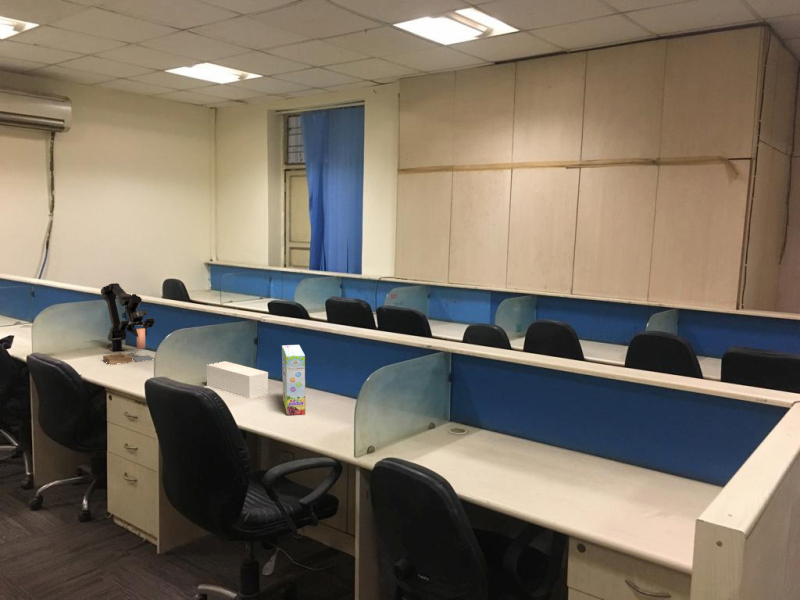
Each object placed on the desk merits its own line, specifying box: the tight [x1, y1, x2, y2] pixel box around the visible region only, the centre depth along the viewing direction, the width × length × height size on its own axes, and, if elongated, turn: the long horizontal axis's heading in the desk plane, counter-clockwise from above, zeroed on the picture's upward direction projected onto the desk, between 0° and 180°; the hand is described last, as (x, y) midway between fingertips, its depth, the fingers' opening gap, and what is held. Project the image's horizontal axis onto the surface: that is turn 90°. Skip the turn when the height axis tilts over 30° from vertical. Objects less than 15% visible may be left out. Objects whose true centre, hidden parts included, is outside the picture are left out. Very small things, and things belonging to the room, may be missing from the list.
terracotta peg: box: [135, 327, 146, 350], centre depth 354 cm, size 4×4×11 cm
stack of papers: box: [206, 360, 269, 400], centre depth 298 cm, size 32×11×11 cm, turn 52°
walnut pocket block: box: [102, 352, 133, 365], centre depth 348 cm, size 12×12×3 cm
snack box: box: [281, 344, 306, 416], centre depth 271 cm, size 22×9×26 cm, turn 15°
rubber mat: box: [131, 354, 155, 362], centre depth 356 cm, size 10×10×1 cm
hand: (142, 336), depth 353 cm, fingers closed on terracotta peg, 4 cm apart
